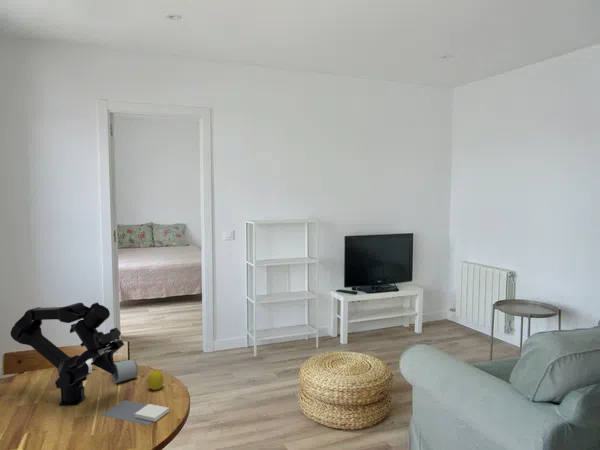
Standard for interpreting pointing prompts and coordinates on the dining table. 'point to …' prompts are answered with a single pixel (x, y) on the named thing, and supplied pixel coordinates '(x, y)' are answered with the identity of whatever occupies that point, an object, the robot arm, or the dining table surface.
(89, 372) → the elephant figurine
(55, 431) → the dining table surface
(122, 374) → the ceramic mug
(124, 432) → the dining table surface
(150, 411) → the tile
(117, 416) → the mat
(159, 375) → the lemon
